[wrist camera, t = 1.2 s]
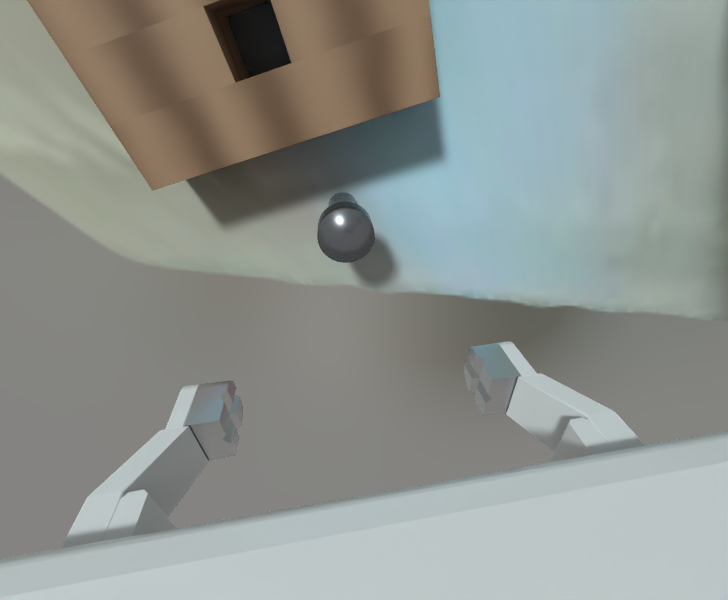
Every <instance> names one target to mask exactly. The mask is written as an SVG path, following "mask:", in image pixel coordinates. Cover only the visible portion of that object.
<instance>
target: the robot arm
mask: <svg viewBox="0 0 728 600" xmlns="http://www.w3.org/2000/svg"><path fill="white" fill-rule="evenodd" d="M466 356H467V358H468V361H467V362H466V364H465V365H464V379H465V382H466V385H467V387H468V389H469V390H470V391H471V392H473V393H474V394H476V396H475V402H476V404H477V406H478V408H479V410H480V412H481V414H482V416H488V415H495V414H502V413H507V415H508V416H509V417H511V418H512V419H513V420H514V421H516V422H517V423H518V424H519V425H521V426H522V427H523V428H525V429H526V430H527V431H528V432H530V433H531V434H532V435H533V436H535V437H536V438H537V439H539V440H540V441H541V442H542V443H544V444H545V445H546V446H548V447H549V448H550V449H551V450H553V451H554V453H553V455H552V458H551V460H550V462H548V463H543V464H538V465H532V466H526V467H520V468H514V469H509V470H503V471H497V472H492V473H487V474H480V475H475V476H470V477H463V478H458V479H452V480H447V481H442V482H435V483H430V484H424V485H418V486H412V487H407V488H401V489H396V490H390V491H384V492H379V493H374V494H368V495H362V496H356V497H350V498H345V499H339V500H333V501H328V502H322V503H317V504H311V505H305V506H300V507H294V508H288V509H283V510H277V511H271V512H265V513H260V514H255V515H249V516H243V517H237V518H231V519H226V520H221V521H215V522H209V523H203V524H197V525H192V526H186V527H180V528H177V527H176V526H175V525H174V523H173V522H172V521H171V520H170V519H169V518H168V517H169V515H170V514H171V513H172V511H173V510H174V509H175V507H176V506H177V505H178V503H179V502H180V501H181V499H182V498H183V496H184V495H185V494H186V492H187V491H188V490H189V488H190V487H191V486H192V484H193V483H194V482H195V480H196V479H197V478H198V476H199V475H200V474H201V472H202V471H203V469H204V468H205V467H206V465H207V464H208V463H209V460H214V459H220V458H225V457H230V456H235V455H236V452H237V447H238V442H239V435H238V432H237V429H238V428H239V427H240V426H241V425H242V419H243V406H242V401H241V399H240V397H239V396H238V395H236V394H235V391H236V387H235V384H234V382H233V381H223V382H214V383H206V384H200V385H191V386H184V387H183V388H182V390H181V391H180V394H179V396H178V399H177V401H176V404H175V406H174V409H173V411H172V414H171V417H170V419H169V421H168V424H167V426H166V429H165V430H160V431H159V432H158V433H157V434H156V435H155V436H154V437H153V438H151V439H150V440H149V441H148V442H147V443H146V444H145V445H144V446H143V447H142V448H141V449H139V450H138V451H137V452H136V453H135V454H134V455H133V456H132V457H131V458H130V459H129V460H127V461H126V462H125V463H124V464H123V465H122V466H121V467H120V468H119V469H118V470H117V471H115V472H114V473H113V474H112V475H111V476H110V477H109V478H108V479H107V480H106V481H105V482H103V483H102V484H101V485H100V486H99V487H98V488H97V489H96V490H95V491H94V492H93V493H91V494H90V495H89V496H88V497H87V499H86V501H85V503H84V505H83V507H82V508H81V510H80V512H79V514H78V517H77V518H76V520H75V522H74V524H73V526H72V528H71V530H70V532H69V533H68V535H67V537H66V539H65V541H64V543H63V545H62V547H61V549H55V550H50V551H44V552H38V553H32V554H27V555H22V556H15V557H10V558H5V559H0V600H728V431H724V432H718V433H713V434H707V435H701V436H696V437H690V438H685V439H679V440H673V441H668V442H662V443H656V444H650V445H644V444H643V442H642V441H641V440H640V439H639V438H638V437H637V436H636V435H635V434H634V433H633V432H632V430H630V428H629V427H628V426H627V425H626V424H625V423H624V422H623V421H622V419H621V418H620V417H619V416H618V415H617V414H616V413H615V412H614V411H612V410H610V409H608V408H607V407H605V406H603V405H601V404H599V403H597V402H595V401H593V400H591V399H589V398H587V397H586V396H583V395H581V394H580V393H578V392H576V391H574V390H572V389H570V388H568V387H566V386H564V385H562V384H561V383H559V382H557V381H555V380H553V379H551V378H549V377H547V376H545V375H543V374H537V373H536V372H535V371H534V369H533V368H532V367H531V366H530V364H529V363H528V362H527V360H526V359H525V358H524V357H523V355H522V354H521V353H520V352H519V350H518V349H517V348H516V346H515V345H514V344H513V343H512V342H510V341H509V342H502V343H496V344H488V345H481V346H475V347H469V348H468V350H467V354H466Z"/></svg>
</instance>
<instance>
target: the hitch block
mask: <svg viewBox="0 0 728 600" xmlns="http://www.w3.org/2000/svg"><path fill="white" fill-rule="evenodd" d="M27 1H28V2H29V4H30V5H31V7H32V8H33V10H34V11H35V13H36V14H37V16H38V17H39V19H40V21H41V22H42V24H43V25H44V27H45V28H46V30H47V31H48V33H49V34H50V36H51V37H52V39H53V40H54V42H55V43H56V45H57V46H58V48H59V49H60V51H61V52H62V54H63V55H64V57H65V58H66V60H67V62H68V63H69V65H70V66H71V68H72V69H73V71H74V72H75V74H76V75H77V77H78V78H79V80H80V81H81V83H82V84H83V86H84V87H85V89H86V90H87V92H88V93H89V95H90V96H91V98H92V99H93V101H94V102H95V104H96V106H97V107H98V109H99V110H100V112H101V113H102V115H103V116H104V118H105V119H106V121H107V122H108V124H109V125H110V127H111V128H112V130H113V131H114V133H115V134H116V136H117V137H118V139H119V140H120V142H121V143H122V145H123V146H124V148H125V150H126V151H127V153H128V154H129V156H130V157H131V159H132V160H133V162H134V163H135V165H136V166H137V168H138V169H139V171H140V172H141V174H142V175H143V177H144V178H145V180H146V181H147V183H148V184H149V186H150V187H151V189H152V191H153V190H156V189H159V188H162V187H165V186H168V185H171V184H174V183H177V182H180V181H183V180H186V179H190V178H193V177H196V176H199V175H202V174H205V173H208V172H211V171H214V170H217V169H220V168H223V167H226V166H229V165H233V164H236V163H239V162H242V161H245V160H248V159H251V158H254V157H257V156H260V155H263V154H266V153H269V152H272V151H276V150H279V149H282V148H285V147H288V146H291V145H294V144H297V143H300V142H303V141H306V140H309V139H312V138H315V137H319V136H322V135H325V134H328V133H331V132H334V131H337V130H340V129H343V128H346V127H349V126H352V125H355V124H358V123H362V122H365V121H368V120H371V119H374V118H377V117H380V116H383V115H386V114H389V113H392V112H395V111H398V110H401V109H405V108H408V107H411V106H414V105H417V104H420V103H423V102H426V101H429V100H432V99H435V98H438V97H440V94H439V85H438V77H437V68H436V60H435V51H434V43H433V34H432V26H431V17H430V9H429V1H428V0H27ZM269 1H271V3H272V6H273V9H274V12H275V15H276V18H277V21H278V24H279V27H280V30H281V33H282V36H283V39H284V42H285V45H286V48H287V51H288V54H289V57H290V60H291V63H290V64H288V65H285V66H282V67H279V68H276V69H273V70H270V71H267V72H265V73H262V74H259V75H256V76H253V77H250V75H249V73H248V70H247V68H246V65H245V63H244V60H243V58H242V55H241V53H240V50H239V48H238V45H237V42H236V40H235V37H234V35H233V32H232V30H231V27H230V25H229V22H228V20H227V17H228V16H231V15H234V14H236V13H239V12H242V11H245V10H247V9H250V8H253V7H256V6H258V5H261V4H264V3H266V2H269Z"/></svg>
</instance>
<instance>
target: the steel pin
mask: <svg viewBox="0 0 728 600" xmlns="http://www.w3.org/2000/svg"><path fill="white" fill-rule="evenodd" d="M317 236H318V243H319V246H320V248H321V250H322V251H323V253H324V254H325V255H326V256H328V257H329V258H331V259H333V260H335V261H338V262H353V261H356V260H359V259H361V258H362V257H364V256H365V255H366V254H367V253H368V252H369V251H370V249H371V247H372V245H373V243H374V229H373V225H372V222H371V219H370V216H369V215H368V213H367V212H366V211H365V209H363V208H362V207H361V206H359V205H357V204H356V201H355V199H354V197H353V196H352V195H350V194H348V193H344V192H341V193H337V194H335V195H334V196H333V197H332V198H331V199H330V201H329V207H328V208H327V209H326V210H325V211H324V212H323V213H322V215H321V216H320V219H319V222H318V235H317Z"/></svg>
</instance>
